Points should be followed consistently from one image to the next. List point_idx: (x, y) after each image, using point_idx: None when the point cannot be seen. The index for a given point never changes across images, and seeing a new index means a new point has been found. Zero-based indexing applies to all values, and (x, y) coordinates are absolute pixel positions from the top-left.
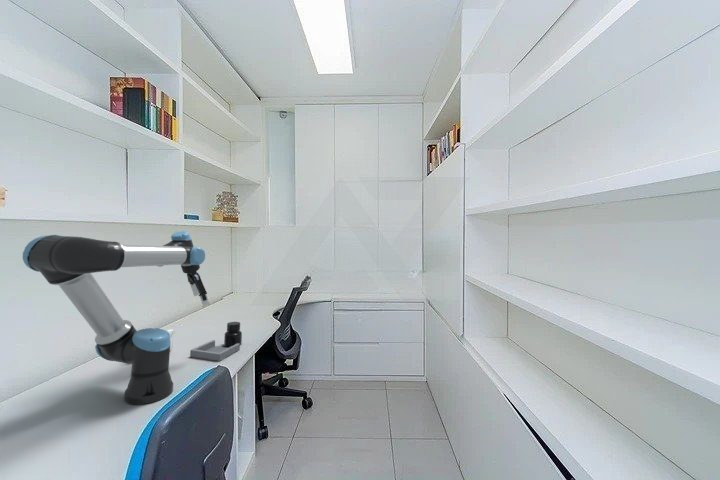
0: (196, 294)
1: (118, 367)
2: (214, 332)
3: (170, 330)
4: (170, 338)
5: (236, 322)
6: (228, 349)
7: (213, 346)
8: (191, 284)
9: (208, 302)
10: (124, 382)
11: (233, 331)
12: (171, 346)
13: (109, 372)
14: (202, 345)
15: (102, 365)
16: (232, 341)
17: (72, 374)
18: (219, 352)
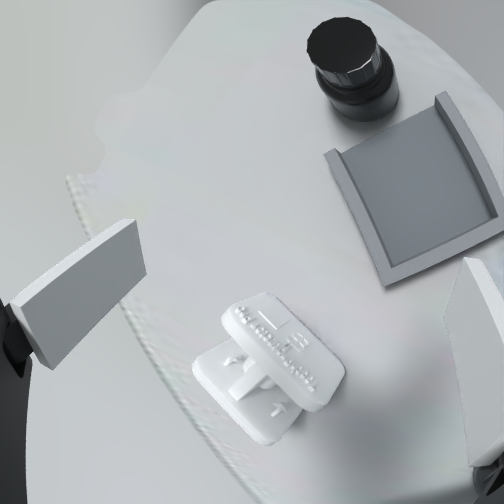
0: (134, 258)
1: (301, 443)
2: (187, 100)
3: (245, 335)
4: (270, 328)
5: (333, 29)
6: (486, 165)
7: (344, 161)
8: (27, 344)
9: (488, 277)
10: (412, 472)
11: (378, 71)
12: (276, 307)
13: (319, 465)
14: (364, 221)
15: (259, 449)
16: (393, 96)
17: (271, 491)
18: (426, 175)
